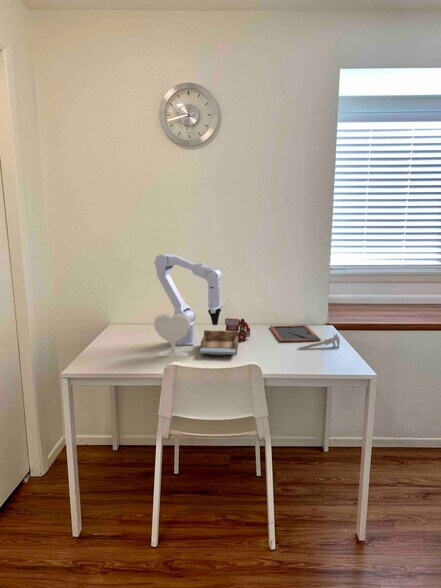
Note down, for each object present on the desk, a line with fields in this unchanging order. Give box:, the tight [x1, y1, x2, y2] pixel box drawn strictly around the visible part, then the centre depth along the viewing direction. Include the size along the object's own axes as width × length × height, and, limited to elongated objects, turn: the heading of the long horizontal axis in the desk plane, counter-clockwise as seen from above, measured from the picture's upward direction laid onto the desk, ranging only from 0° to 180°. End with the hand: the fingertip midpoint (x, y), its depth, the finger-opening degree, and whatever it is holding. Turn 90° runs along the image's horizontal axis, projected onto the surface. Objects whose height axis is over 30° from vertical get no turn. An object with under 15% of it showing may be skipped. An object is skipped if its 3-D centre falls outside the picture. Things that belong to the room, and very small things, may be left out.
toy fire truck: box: [224, 318, 251, 342], centre depth 203 cm, size 7×12×10 cm, turn 82°
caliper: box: [297, 333, 341, 351], centre depth 190 cm, size 20×1×6 cm, turn 102°
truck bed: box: [200, 329, 239, 355], centre depth 189 cm, size 16×12×7 cm
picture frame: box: [269, 324, 322, 344], centre depth 211 cm, size 20×2×25 cm
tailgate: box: [199, 347, 236, 356], centre depth 180 cm, size 15×2×6 cm
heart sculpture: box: [153, 312, 191, 357], centre depth 182 cm, size 16×5×18 cm, turn 83°
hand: (215, 324), depth 191 cm, fingers closed
